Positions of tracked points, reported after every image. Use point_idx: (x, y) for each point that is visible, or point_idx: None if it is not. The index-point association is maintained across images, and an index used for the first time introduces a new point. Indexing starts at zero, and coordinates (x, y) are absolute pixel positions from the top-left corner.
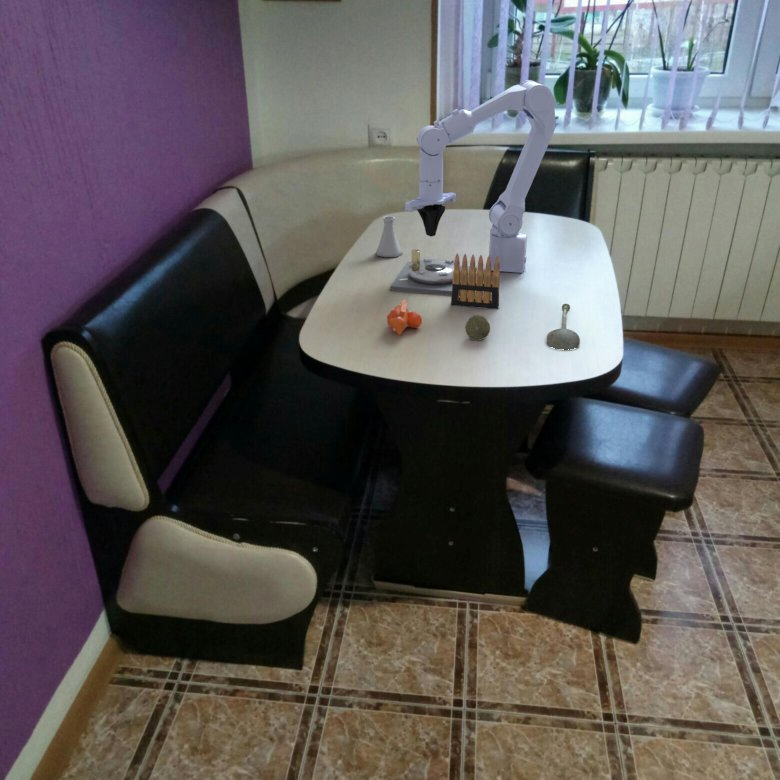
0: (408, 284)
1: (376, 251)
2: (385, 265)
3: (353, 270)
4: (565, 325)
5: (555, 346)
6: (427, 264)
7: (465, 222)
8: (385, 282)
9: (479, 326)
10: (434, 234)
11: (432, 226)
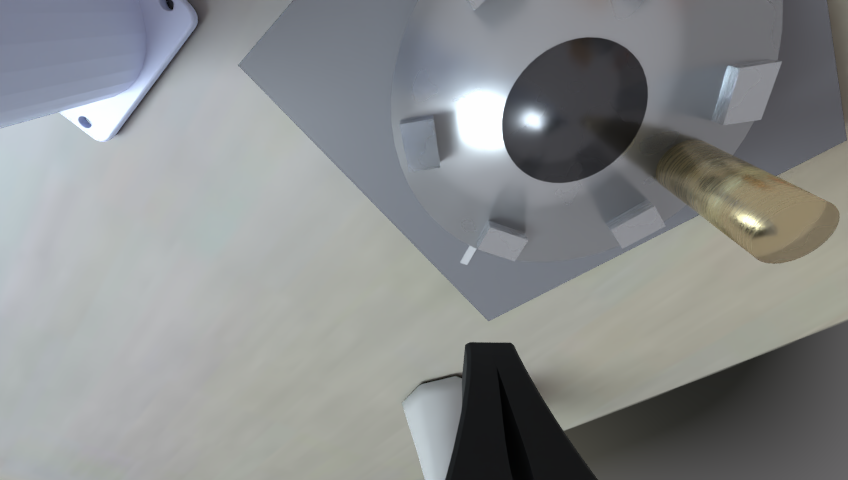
0: (773, 94)
1: None
2: (546, 347)
3: (660, 369)
4: None
5: None
6: (549, 196)
7: (73, 448)
8: None
9: None
10: (483, 350)
11: (544, 426)
